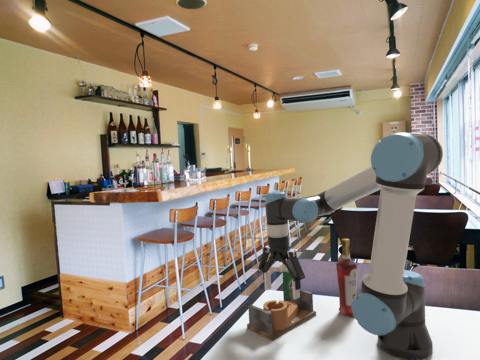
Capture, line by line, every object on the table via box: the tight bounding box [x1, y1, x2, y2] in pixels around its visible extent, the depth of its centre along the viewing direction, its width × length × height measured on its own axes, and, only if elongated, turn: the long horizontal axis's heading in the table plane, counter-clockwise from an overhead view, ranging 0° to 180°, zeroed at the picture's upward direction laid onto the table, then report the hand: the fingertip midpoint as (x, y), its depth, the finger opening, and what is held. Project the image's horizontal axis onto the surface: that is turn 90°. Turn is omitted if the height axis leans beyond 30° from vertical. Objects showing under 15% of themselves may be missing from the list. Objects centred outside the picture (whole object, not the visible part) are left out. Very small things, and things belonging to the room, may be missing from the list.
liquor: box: [335, 238, 358, 317], centre depth 129 cm, size 7×7×28 cm
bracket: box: [262, 299, 298, 331], centre depth 126 cm, size 18×8×7 cm, turn 151°
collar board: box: [246, 287, 317, 341], centre depth 126 cm, size 12×24×8 cm, turn 132°
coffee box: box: [282, 268, 297, 301], centre depth 145 cm, size 8×3×13 cm, turn 138°
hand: (281, 293), depth 126 cm, fingers open, 13 cm apart
